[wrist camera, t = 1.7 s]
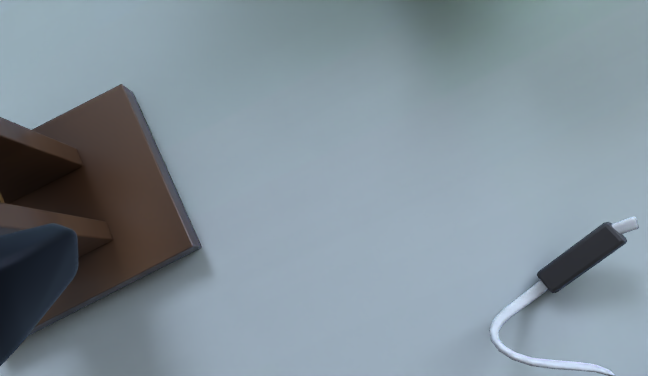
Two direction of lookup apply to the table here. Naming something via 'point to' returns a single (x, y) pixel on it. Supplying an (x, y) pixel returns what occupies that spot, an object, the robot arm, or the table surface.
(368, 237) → the table surface
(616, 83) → the table surface
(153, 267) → the stand
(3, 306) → the robot arm
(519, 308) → the clip-on lamp
